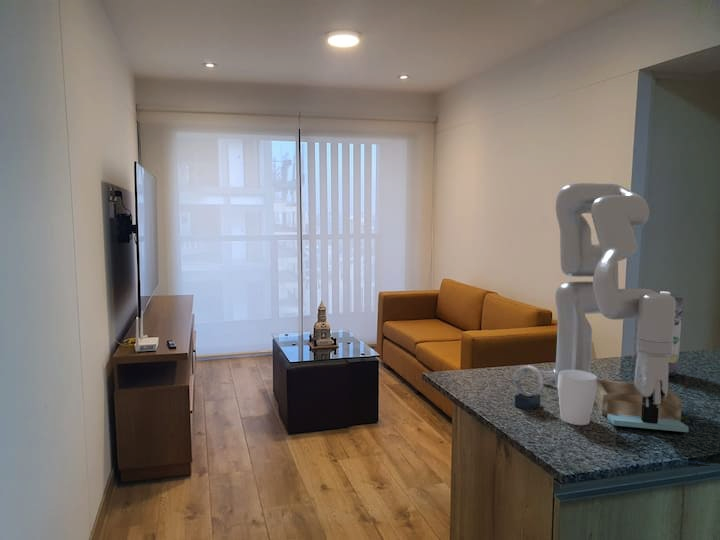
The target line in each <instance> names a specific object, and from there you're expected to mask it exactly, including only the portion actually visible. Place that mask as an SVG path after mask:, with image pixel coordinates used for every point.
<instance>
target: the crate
mask: <svg viewBox="0 0 720 540" xmlns="http://www.w3.org/2000/svg"><path fill="white" fill-rule="evenodd" d="M594 404H595V406H596V408H597V409H598V411H599V414H600V415H601V417H603V416H604V417H607V413H609V414H620V415H631V416H641V412H642V404H643V403H642V394H641V393H640V392H639V391H638V390H637V388H636V387H635V385H634V381H633V382H632V381H630V382H629V381H617V380H605V379H604V380H603V379H597V391H596V396H595V400H594ZM682 407H683V401H682V399H681V398H679V396H678V395H677V394H675V392H674V391H673V390H671V388H670V387H669V386H668V391H667V397H666V398H664V399H663V398H662V397H661V404H660V405H659V411H658V418H665V419H676V420H679V421H681V422H682V419H681V418H682Z"/></svg>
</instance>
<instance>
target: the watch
mask: <svg viewBox="0 0 720 540" xmlns="http://www.w3.org/2000/svg"><path fill="white" fill-rule="evenodd" d="M540 370H541V369H539V368H538V367H536V366H534V365H532V364H531V365H530V364H529V365H525V364H524V365H522V366H520V367H518V369H517V370H516V371H514V373H513V375H512V379H513V380H512V381H513V382H512V383H513V385H514V387H515V389H516V390H517V392H518V393H516V394H515V395H514V407H515V408H519V409H522V410H525V411H529V412H530V411H531V410H535V409H536V408H538V407H540V406H541V395H542V394H539V393H540V392H541V390H542V389H543V386H544V384H545V383H544V377H543V375H542V373H541V372H540ZM529 371H532V372H533V373H534V374H535V375H536V377H537V379H538V380H537V383H536V386H535V388H534V390H533V391H529V390H525V389H524V388H523V386H522V385H521V381H523V379H524V378H525V377H526V376H527V375H528V373H529Z"/></svg>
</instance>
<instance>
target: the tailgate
mask: <svg viewBox="0 0 720 540" xmlns="http://www.w3.org/2000/svg"><path fill="white" fill-rule="evenodd" d="M606 417H607V420H608V421H609V422H610V423H611V425H613V426H616V427H617V426H619V427H627V428H639V429H650V430H661V431H669V432H671V431H672V432H680V433H682V432H683V433H689V426H688V425H687V424H685V423H683V422H682V420H681V421H679V420H676V419H665V418H658V423H657V424H656V423H645V422H643V421H642V420H641V416H631V415H620V414H609V413H607V416H606Z"/></svg>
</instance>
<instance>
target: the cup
mask: <svg viewBox="0 0 720 540" xmlns="http://www.w3.org/2000/svg"><path fill="white" fill-rule="evenodd" d="M597 378H598V376H597V375H596V374H594V373H592V372H591V371H590V372H586V371H581V370H562V371H560V372H559V377H558V389H557V393H558V395H557V396H558V404H559V413H560V420H561V421H563V422H565V423H568V424H570V425H575V426H576V425H577V426H586V425H588V424H590V422H591V418H592V414H593V413H592V412H593V408H594V404H595V402H594V400H595V396H596V391H597V380H598V379H597Z"/></svg>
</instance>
